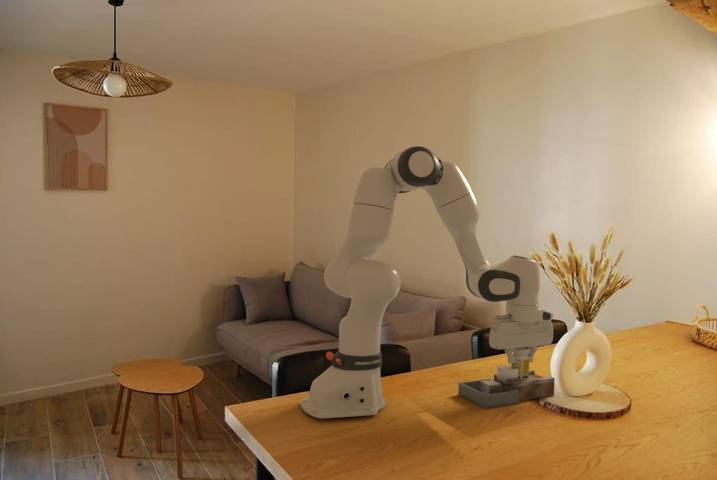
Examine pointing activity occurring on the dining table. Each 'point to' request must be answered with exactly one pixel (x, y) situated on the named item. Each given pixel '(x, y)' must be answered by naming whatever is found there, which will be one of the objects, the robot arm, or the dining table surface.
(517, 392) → the bin
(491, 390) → the beige cube
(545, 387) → the channel block
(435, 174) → the robot arm
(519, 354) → the supplement bottle
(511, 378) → the grey small cube
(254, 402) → the dining table surface
